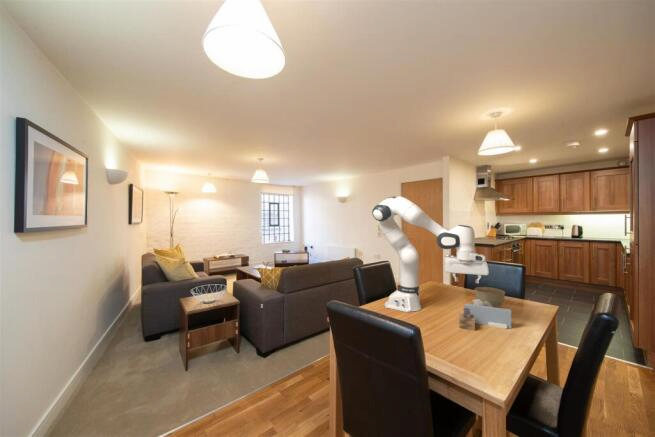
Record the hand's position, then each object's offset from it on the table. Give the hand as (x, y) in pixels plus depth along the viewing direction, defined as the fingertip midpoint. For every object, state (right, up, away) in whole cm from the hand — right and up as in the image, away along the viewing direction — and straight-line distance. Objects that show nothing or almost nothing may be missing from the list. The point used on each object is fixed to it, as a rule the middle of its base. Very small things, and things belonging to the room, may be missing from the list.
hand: (466, 282), depth 134 cm
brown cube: (0, -23, -1) cm, 23 cm away
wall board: (+12, -23, +2) cm, 26 cm away
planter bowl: (+29, -23, +27) cm, 46 cm away
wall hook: (+19, -23, +14) cm, 33 cm away
